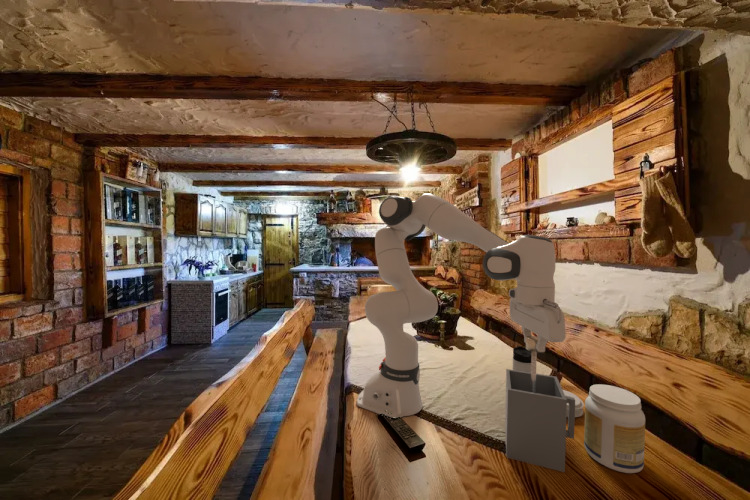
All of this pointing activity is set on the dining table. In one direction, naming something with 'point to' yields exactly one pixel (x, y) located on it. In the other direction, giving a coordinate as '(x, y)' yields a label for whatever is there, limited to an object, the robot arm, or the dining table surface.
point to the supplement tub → (615, 428)
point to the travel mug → (522, 359)
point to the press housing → (537, 420)
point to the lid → (578, 404)
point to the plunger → (532, 359)
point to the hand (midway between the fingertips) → (534, 347)
